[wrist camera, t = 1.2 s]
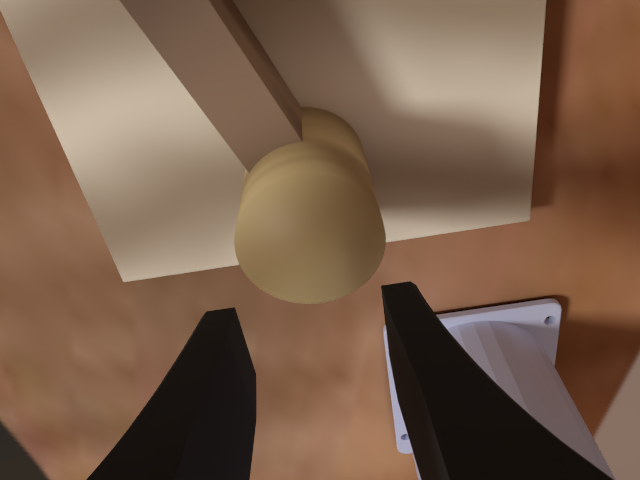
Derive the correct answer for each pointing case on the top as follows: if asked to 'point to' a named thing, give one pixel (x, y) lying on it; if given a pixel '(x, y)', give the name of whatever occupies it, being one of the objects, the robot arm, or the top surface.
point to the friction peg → (274, 155)
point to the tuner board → (310, 91)
